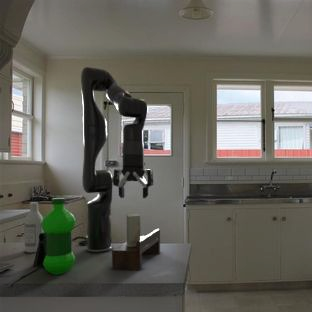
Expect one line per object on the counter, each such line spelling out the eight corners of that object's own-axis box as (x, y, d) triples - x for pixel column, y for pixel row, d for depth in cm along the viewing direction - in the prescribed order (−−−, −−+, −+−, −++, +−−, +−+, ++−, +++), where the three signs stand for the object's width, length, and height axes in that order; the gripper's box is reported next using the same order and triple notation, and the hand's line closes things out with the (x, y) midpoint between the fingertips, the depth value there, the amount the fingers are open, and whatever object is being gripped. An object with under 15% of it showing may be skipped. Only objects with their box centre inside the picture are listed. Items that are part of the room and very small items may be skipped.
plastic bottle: (35, 275, 121) (34, 200, 120) (58, 266, 131) (57, 196, 131) (60, 278, 118) (59, 200, 118) (82, 268, 128) (81, 196, 128)
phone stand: (33, 265, 131) (32, 232, 131) (47, 261, 137) (47, 229, 137) (51, 268, 128) (50, 234, 128) (65, 263, 133) (64, 231, 133)
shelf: (112, 269, 127) (111, 241, 127) (136, 252, 149) (136, 228, 149) (139, 270, 126) (139, 242, 126) (160, 252, 148) (160, 229, 147)
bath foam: (39, 247, 157) (39, 201, 157) (47, 250, 153) (46, 202, 152) (22, 251, 152) (21, 202, 151) (29, 253, 147) (28, 204, 147)
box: (140, 246, 132) (140, 215, 131) (128, 247, 130) (128, 216, 130) (138, 243, 136) (138, 213, 136) (126, 244, 135) (126, 214, 135)
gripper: (155, 153, 136) (155, 196, 136) (118, 153, 137) (119, 196, 137) (148, 153, 128) (148, 199, 128) (109, 153, 130) (110, 198, 130)
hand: (133, 197), depth 133 cm, fingers open, 8 cm apart
